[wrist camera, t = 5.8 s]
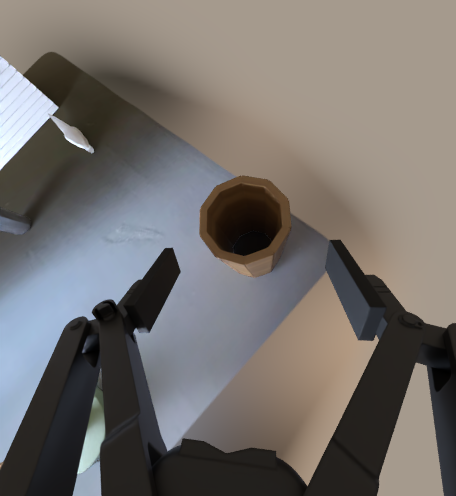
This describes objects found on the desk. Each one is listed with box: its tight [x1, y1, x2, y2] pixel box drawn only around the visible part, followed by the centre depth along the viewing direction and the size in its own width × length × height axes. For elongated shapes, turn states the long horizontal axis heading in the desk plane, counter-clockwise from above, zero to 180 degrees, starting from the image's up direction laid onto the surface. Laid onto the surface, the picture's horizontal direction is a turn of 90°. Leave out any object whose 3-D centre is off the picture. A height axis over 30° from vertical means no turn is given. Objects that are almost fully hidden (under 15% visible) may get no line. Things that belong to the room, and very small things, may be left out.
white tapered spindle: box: [48, 113, 94, 153], centre depth 35 cm, size 15×3×2 cm, turn 49°
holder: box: [0, 387, 105, 474], centre depth 20 cm, size 9×9×9 cm
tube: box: [199, 176, 291, 278], centre depth 20 cm, size 6×7×12 cm
